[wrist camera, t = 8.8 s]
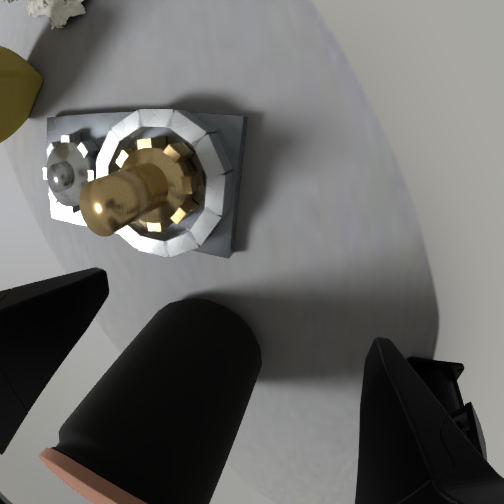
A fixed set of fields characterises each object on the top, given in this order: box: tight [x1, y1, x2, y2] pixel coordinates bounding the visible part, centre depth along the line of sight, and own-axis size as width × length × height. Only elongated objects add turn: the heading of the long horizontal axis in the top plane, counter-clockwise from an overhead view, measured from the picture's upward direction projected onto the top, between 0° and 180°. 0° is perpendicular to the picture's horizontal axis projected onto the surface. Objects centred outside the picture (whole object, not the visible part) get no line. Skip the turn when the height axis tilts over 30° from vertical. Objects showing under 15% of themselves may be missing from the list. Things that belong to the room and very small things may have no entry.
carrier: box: [47, 109, 247, 258], centre depth 21 cm, size 19×10×2 cm, turn 84°
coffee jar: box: [39, 299, 262, 504], centre depth 19 cm, size 11×11×18 cm
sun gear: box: [43, 133, 99, 214], centre depth 21 cm, size 7×7×3 cm
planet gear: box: [79, 136, 204, 236], centre depth 18 cm, size 6×6×7 cm
